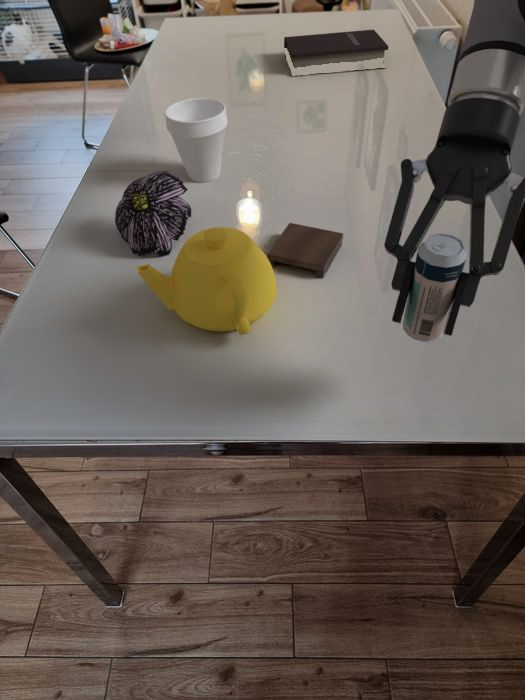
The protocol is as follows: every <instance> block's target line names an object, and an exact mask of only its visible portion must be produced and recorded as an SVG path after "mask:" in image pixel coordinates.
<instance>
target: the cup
mask: <svg viewBox="0 0 525 700" xmlns="http://www.w3.org/2000/svg"><path fill="white" fill-rule="evenodd" d="M164 116H165V117H164V118H165V124H166V129H167V132H168V133H170V135H171V137H172V140H173V142H174V145H175V147H176V149H177V152H178V154H179V157H180V159H181V161H182V164H183V167H184V168H185V171H186V173H187V175H188V179H190V180H191V181H193V182H197V183H208V182H212V181H215V180H216V179H218V178H219V177H220V175H221V171H222V170H221V168H222V161H223V160H222V159H223V154H224V153H223V152H224V145H225V144H224V143H225V134H226V127H227V126H228V116H227V107H226V104H225V103H224V102H222V101H220V100H218V99H215V98H208V97H194V98H187V99H182V100H180V101H177V102H174V103H172V104H170V105H169V106H168V107H167V108H166V109H165V110H164Z"/></svg>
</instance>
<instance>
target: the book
mask: <svg viewBox="0 0 525 700" xmlns="http://www.w3.org/2000/svg"><path fill="white" fill-rule="evenodd" d="M284 48H287V50H288V52H289V55H290V58H291V61H292V63H293V66H294V68H297V67H306V66H311V65H322V64H329V63H340V62H357V61H364V60H371V59H377V58H383V57H384V58H385V51H389V45H388V44H387V42H386V41H385V40H384V39H383V38H382V37H381V36H380V35H379V34H378V33H377V31H376V30H375V29H363V30H362V29H361V30H352V31H350V30H349V31H340V32H339V31H338V32H330V33H329V32H328V33H317V34H307V35H306V34H305V35H293V36H284V37H283V49H284Z"/></svg>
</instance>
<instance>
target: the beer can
mask: <svg viewBox="0 0 525 700" xmlns="http://www.w3.org/2000/svg"><path fill="white" fill-rule="evenodd" d="M416 252H417V253H416V257H415V261H414V262H415V267H414V272H413V277H412V281H411V286H410V291H409V295H408V298H407V302H406V305H405V309H404V313H403V318H402V330H403V331H404V333H405V334H406V335H407V336H408V337H409V338H411V339H412V340H416V341H419V342H424V343H428V342H435V341H437V340H439V339H441V338H442V337H443V336H444V335H445V334H444V332H445V329H446V325H447V322H448V318H449V315H450V311H451V308H452V304H453V301H454V297H455V294H456V291H457V287H458V284H459V280H460V277H461V274H462V272H464V267H465V264H466V261H467V257H468V254H467V251H466V247H465V245H464V242H463V240H461V238H458V237H456V236H455V235H452V234H446V233H442V232H441V233H437V234H431V235H429V236H427V237H426V238H425V239H424V240H423V241H422V242H421V244H420V245H419V247H418V249H417V251H416Z"/></svg>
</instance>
